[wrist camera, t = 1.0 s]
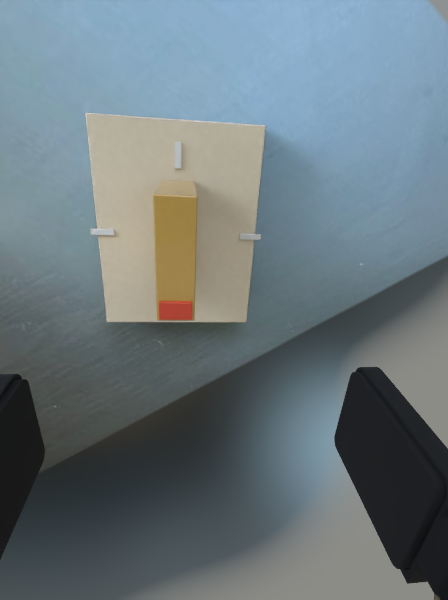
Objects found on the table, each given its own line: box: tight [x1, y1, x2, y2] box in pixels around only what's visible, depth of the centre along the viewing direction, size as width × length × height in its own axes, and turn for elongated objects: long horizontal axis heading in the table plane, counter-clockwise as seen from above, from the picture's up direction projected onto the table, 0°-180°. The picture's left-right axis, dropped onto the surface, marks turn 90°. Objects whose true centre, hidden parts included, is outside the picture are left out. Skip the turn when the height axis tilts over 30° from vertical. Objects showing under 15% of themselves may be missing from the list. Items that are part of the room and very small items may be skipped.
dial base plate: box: [85, 113, 266, 322], centre depth 23 cm, size 13×11×3 cm
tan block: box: [153, 180, 198, 321], centre depth 19 cm, size 6×2×6 cm, turn 177°
